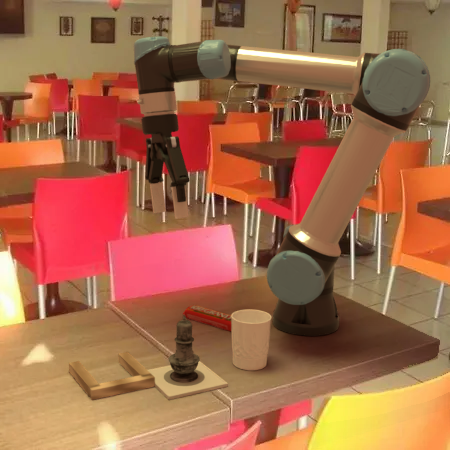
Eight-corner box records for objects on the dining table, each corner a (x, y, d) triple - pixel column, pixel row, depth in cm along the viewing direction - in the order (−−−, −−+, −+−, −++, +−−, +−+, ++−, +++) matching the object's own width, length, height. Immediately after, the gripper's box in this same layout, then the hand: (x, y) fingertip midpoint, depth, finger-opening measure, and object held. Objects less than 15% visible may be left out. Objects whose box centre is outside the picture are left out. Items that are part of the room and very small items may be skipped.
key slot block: (127, 360, 143) (127, 351, 142) (154, 386, 132) (154, 377, 131) (69, 371, 137) (68, 362, 137) (92, 399, 126) (91, 390, 126)
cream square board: (197, 362, 143) (197, 359, 143) (227, 386, 133) (227, 382, 132) (141, 373, 137) (141, 370, 137) (168, 399, 127) (168, 396, 127)
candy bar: (180, 318, 168) (180, 306, 167) (190, 314, 171) (190, 302, 170) (235, 335, 158) (236, 322, 158) (245, 330, 161) (246, 317, 160)
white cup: (257, 375, 138) (259, 326, 135) (222, 365, 142) (223, 317, 139) (276, 361, 144) (278, 314, 142) (242, 352, 148) (244, 306, 146)
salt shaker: (195, 384, 131) (195, 322, 129) (164, 381, 132) (164, 319, 130) (203, 371, 137) (203, 311, 134) (173, 368, 138) (173, 309, 135)
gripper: (124, 118, 159) (135, 212, 162) (162, 113, 137) (174, 223, 140) (156, 115, 162) (166, 208, 165) (198, 109, 140) (209, 217, 143)
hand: (170, 215), depth 153 cm, fingers open, 13 cm apart
